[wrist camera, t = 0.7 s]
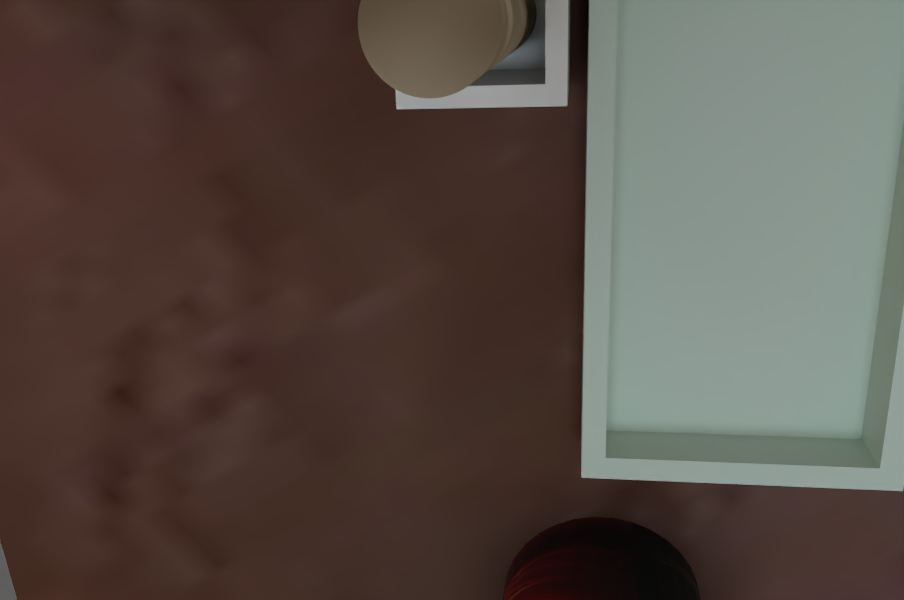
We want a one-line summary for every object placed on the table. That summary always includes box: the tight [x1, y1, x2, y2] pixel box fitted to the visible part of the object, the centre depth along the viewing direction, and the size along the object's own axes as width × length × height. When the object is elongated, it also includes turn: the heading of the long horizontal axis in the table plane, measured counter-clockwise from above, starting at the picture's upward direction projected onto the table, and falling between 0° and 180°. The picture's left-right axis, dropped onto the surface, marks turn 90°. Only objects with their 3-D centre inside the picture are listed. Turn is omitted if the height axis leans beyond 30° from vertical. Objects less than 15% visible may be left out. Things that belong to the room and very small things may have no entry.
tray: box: [581, 0, 904, 491], centre depth 34 cm, size 22×13×4 cm, turn 2°
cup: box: [395, 0, 571, 109], centre depth 31 cm, size 6×6×8 cm
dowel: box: [358, 0, 537, 99], centre depth 26 cm, size 3×3×17 cm
